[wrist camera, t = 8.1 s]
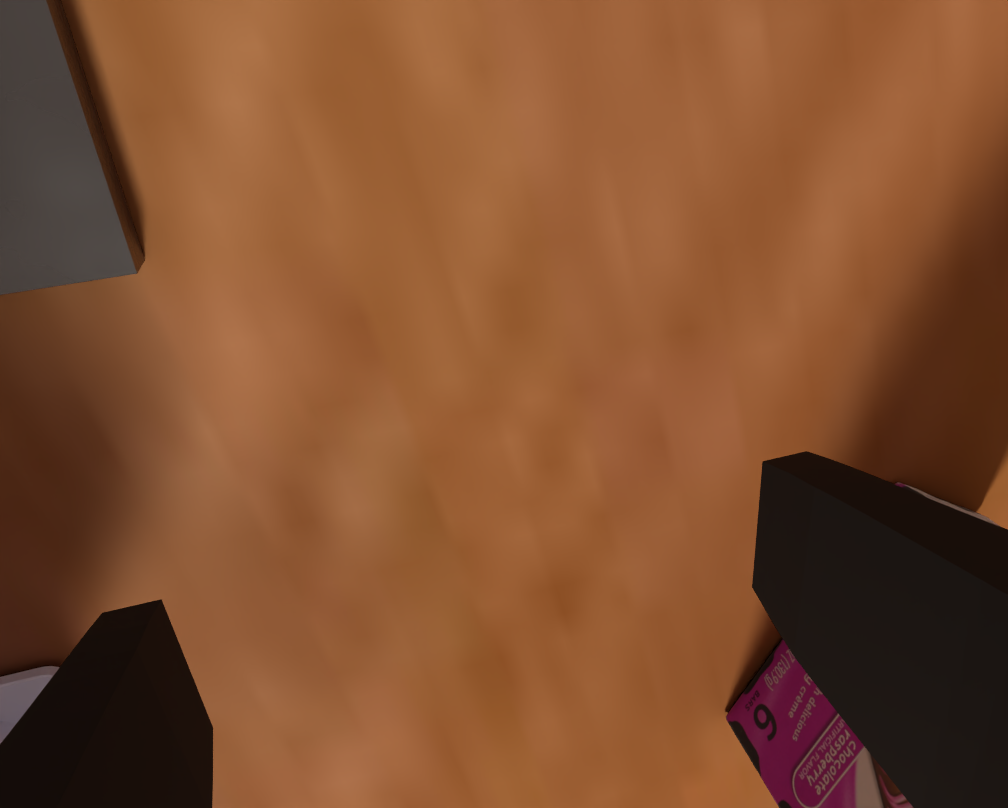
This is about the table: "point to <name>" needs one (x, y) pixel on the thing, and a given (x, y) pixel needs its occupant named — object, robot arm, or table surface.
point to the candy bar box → (809, 736)
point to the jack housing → (54, 161)
